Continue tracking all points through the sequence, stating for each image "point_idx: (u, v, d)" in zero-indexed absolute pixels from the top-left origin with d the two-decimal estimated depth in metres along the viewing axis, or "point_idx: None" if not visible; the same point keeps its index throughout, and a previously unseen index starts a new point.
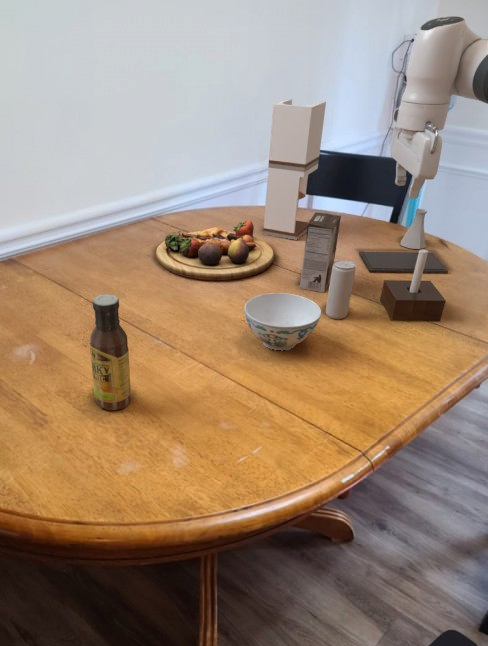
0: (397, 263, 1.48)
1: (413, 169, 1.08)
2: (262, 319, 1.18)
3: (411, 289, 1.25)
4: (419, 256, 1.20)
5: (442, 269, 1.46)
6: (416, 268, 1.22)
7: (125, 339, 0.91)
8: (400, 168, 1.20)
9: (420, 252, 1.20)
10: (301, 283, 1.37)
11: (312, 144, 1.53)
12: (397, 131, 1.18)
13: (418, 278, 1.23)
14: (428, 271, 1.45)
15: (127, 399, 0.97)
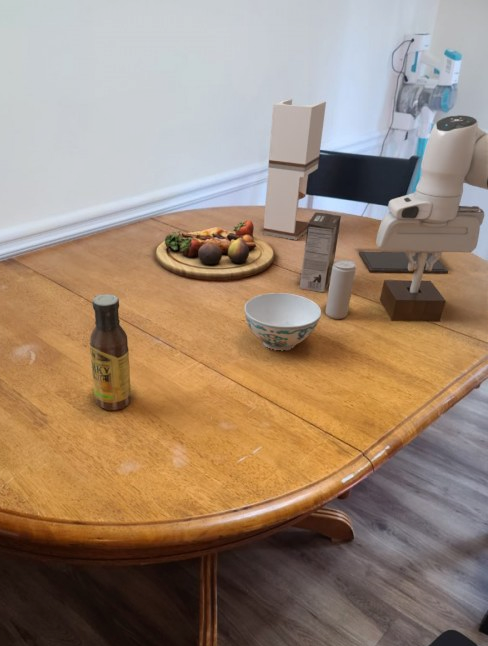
0: (397, 263, 1.48)
1: (462, 247, 1.17)
2: (262, 319, 1.18)
3: (411, 289, 1.25)
4: (419, 256, 1.20)
5: (442, 269, 1.46)
6: None
7: (125, 339, 0.91)
8: None
9: (420, 252, 1.20)
10: (301, 283, 1.37)
11: (312, 144, 1.53)
12: (397, 226, 1.15)
13: (418, 278, 1.23)
14: (428, 271, 1.45)
15: (127, 399, 0.97)
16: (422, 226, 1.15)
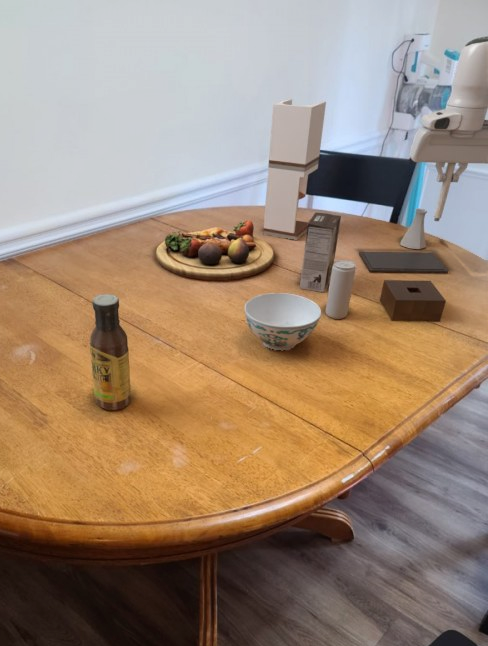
0: (397, 263, 1.48)
1: (486, 158, 1.33)
2: (262, 319, 1.18)
3: (439, 199, 1.40)
4: (448, 167, 1.36)
5: (442, 269, 1.46)
6: None
7: (125, 339, 0.91)
8: None
9: (449, 163, 1.36)
10: (301, 283, 1.37)
11: (312, 144, 1.53)
12: (429, 138, 1.31)
13: (446, 188, 1.38)
14: (428, 271, 1.45)
15: (127, 399, 0.97)
16: (451, 138, 1.31)
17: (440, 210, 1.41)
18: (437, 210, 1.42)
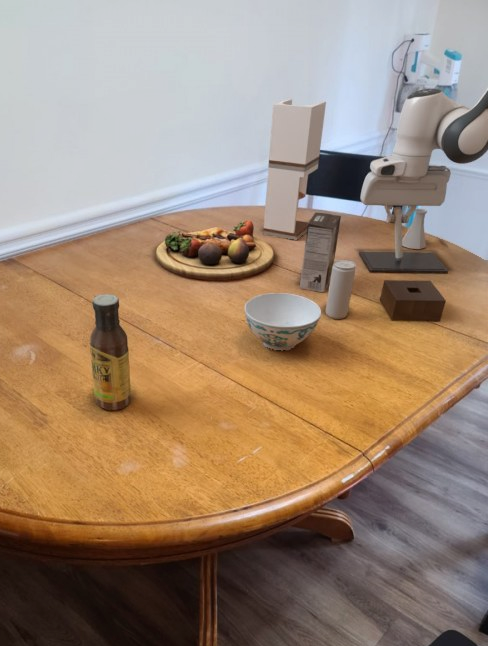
0: (397, 263, 1.48)
1: (432, 201, 1.39)
2: (262, 319, 1.18)
3: (396, 242, 1.47)
4: (394, 213, 1.43)
5: (442, 269, 1.46)
6: (395, 223, 1.44)
7: (125, 339, 0.91)
8: None
9: (394, 210, 1.42)
10: (301, 283, 1.37)
11: (312, 144, 1.53)
12: (377, 183, 1.37)
13: (398, 231, 1.45)
14: (428, 271, 1.45)
15: (127, 399, 0.97)
16: (398, 183, 1.37)
17: (399, 251, 1.48)
18: (396, 251, 1.48)
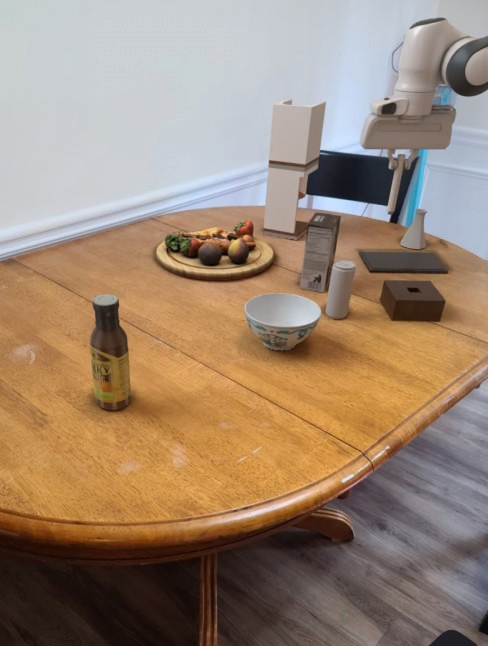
0: (397, 263, 1.48)
1: (437, 143, 1.30)
2: (262, 319, 1.18)
3: (391, 192, 1.38)
4: (397, 160, 1.34)
5: (442, 269, 1.46)
6: (395, 172, 1.36)
7: (125, 339, 0.91)
8: (391, 155, 1.34)
9: (398, 156, 1.34)
10: (301, 283, 1.37)
11: (312, 144, 1.53)
12: (378, 124, 1.28)
13: (397, 181, 1.36)
14: (428, 271, 1.45)
15: (127, 399, 0.97)
16: (400, 123, 1.28)
17: (392, 203, 1.39)
18: (390, 203, 1.40)
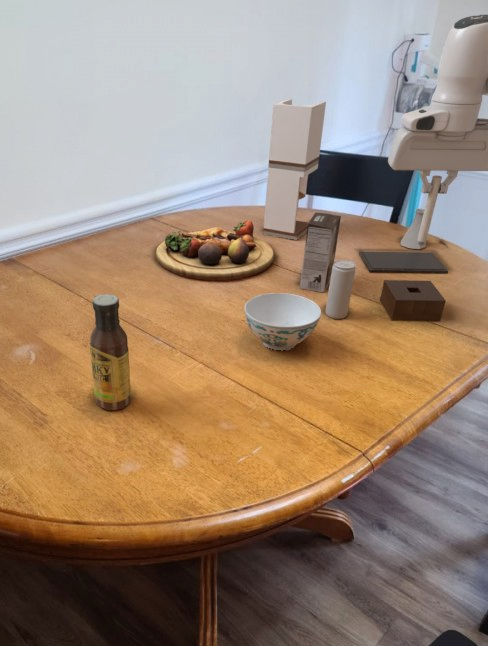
0: (397, 263, 1.48)
1: (480, 164, 1.10)
2: (262, 319, 1.18)
3: (423, 220, 1.18)
4: (432, 182, 1.14)
5: (442, 269, 1.46)
6: (429, 196, 1.15)
7: (125, 339, 0.91)
8: (425, 176, 1.13)
9: (433, 178, 1.13)
10: (301, 283, 1.37)
11: (312, 144, 1.53)
12: (411, 141, 1.08)
13: (431, 207, 1.16)
14: (428, 271, 1.45)
15: (127, 399, 0.97)
16: (438, 140, 1.08)
17: (424, 232, 1.19)
18: (421, 232, 1.20)
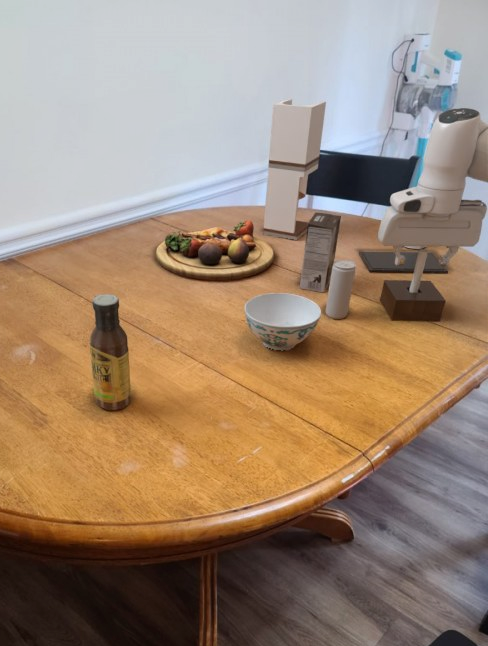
0: None
1: (464, 241, 1.17)
2: (262, 319, 1.18)
3: (411, 289, 1.25)
4: (419, 256, 1.20)
5: (442, 269, 1.46)
6: (416, 268, 1.22)
7: (125, 339, 0.91)
8: None
9: (420, 252, 1.20)
10: (301, 283, 1.37)
11: (312, 144, 1.53)
12: (399, 220, 1.15)
13: (418, 278, 1.23)
14: (428, 271, 1.45)
15: (127, 399, 0.97)
16: (424, 220, 1.15)
17: None
18: None
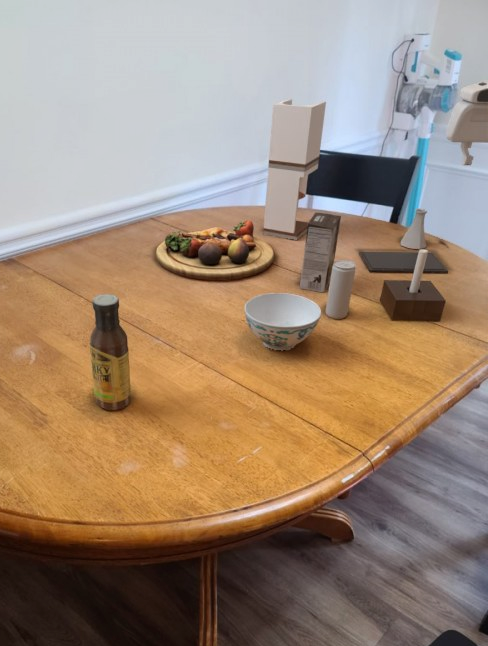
0: (397, 263, 1.48)
1: None
2: (262, 319, 1.18)
3: (411, 289, 1.25)
4: (419, 256, 1.20)
5: (442, 269, 1.46)
6: (416, 268, 1.22)
7: (125, 339, 0.91)
8: None
9: (420, 252, 1.20)
10: (301, 283, 1.37)
11: (312, 144, 1.53)
12: (471, 113, 1.12)
13: (418, 278, 1.23)
14: (428, 271, 1.45)
15: (127, 399, 0.97)
16: None
17: None
18: None
